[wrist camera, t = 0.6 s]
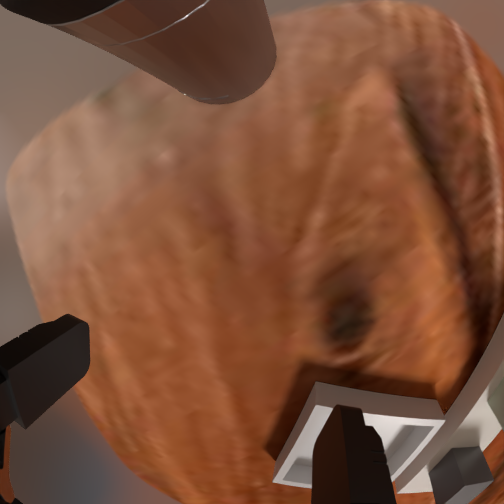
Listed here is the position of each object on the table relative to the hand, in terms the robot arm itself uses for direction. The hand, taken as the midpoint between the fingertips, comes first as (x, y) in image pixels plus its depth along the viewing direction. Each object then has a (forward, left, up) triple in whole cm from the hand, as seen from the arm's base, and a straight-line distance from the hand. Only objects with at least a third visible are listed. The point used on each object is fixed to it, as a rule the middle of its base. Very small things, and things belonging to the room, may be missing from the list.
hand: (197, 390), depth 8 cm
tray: (+20, +16, -18) cm, 31 cm away
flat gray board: (+14, +31, -18) cm, 38 cm away
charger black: (+20, +31, -17) cm, 40 cm away
